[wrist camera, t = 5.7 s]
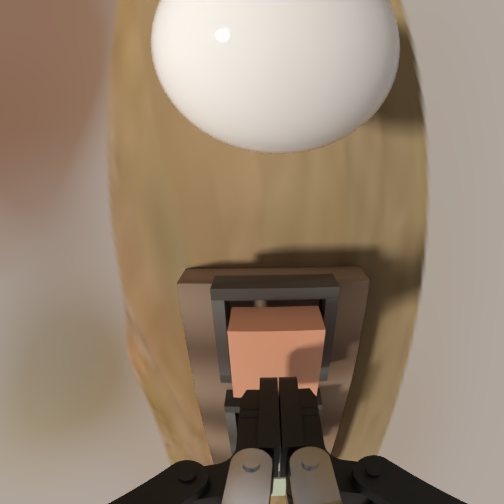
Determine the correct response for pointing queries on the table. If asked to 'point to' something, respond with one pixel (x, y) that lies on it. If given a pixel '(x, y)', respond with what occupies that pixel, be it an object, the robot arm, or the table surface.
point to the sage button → (279, 486)
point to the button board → (269, 295)
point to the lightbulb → (276, 68)
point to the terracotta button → (275, 345)
